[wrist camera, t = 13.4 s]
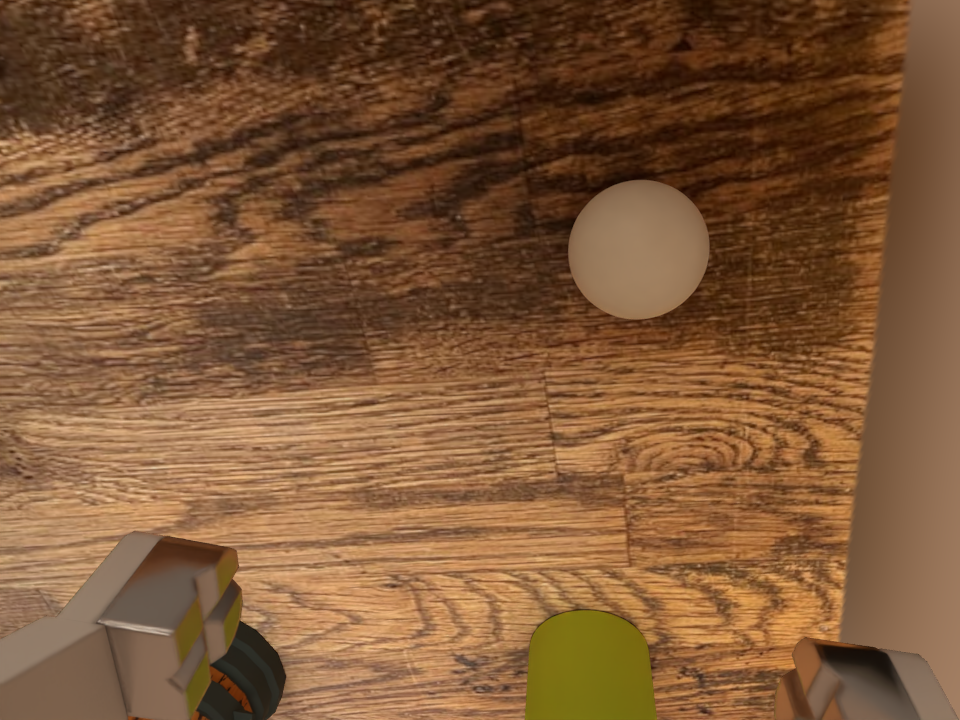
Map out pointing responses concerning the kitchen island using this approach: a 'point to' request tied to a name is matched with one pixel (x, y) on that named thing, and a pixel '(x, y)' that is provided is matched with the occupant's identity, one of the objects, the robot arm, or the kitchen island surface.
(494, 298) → the kitchen island surface
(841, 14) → the kitchen island surface
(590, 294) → the beige ball
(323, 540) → the kitchen island surface
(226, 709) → the mug
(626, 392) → the kitchen island surface
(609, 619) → the soap dispenser
